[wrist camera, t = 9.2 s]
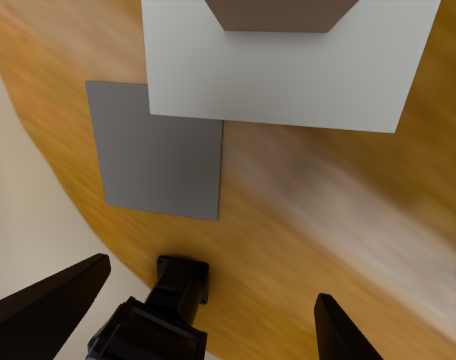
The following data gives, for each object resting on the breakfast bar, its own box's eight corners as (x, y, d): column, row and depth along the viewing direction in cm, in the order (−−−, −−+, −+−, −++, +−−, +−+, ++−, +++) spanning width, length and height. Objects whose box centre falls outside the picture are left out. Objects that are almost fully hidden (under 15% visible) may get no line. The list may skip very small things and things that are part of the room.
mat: (217, 219, 23) (217, 221, 23) (109, 203, 25) (106, 205, 24) (224, 90, 18) (223, 90, 18) (88, 81, 20) (84, 80, 20)
